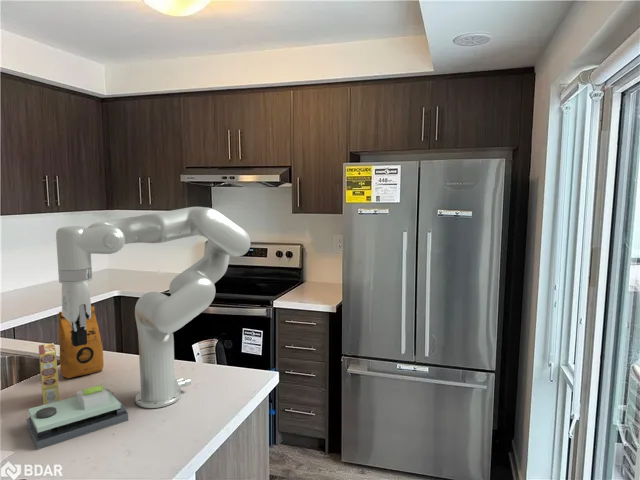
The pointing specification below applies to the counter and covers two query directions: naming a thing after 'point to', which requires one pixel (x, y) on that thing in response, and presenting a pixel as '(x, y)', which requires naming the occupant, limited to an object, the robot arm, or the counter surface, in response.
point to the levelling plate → (74, 408)
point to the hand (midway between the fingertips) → (79, 344)
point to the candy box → (49, 373)
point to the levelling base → (76, 427)
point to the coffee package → (80, 349)
